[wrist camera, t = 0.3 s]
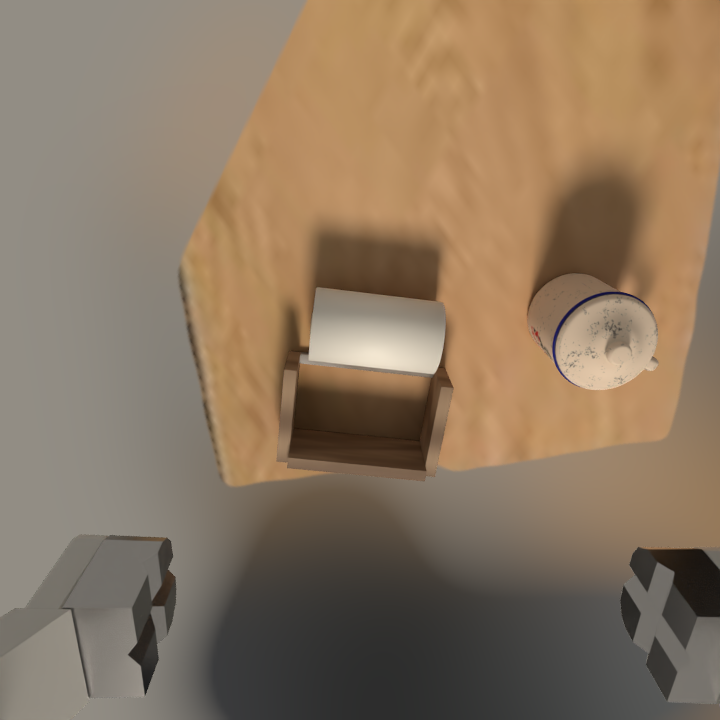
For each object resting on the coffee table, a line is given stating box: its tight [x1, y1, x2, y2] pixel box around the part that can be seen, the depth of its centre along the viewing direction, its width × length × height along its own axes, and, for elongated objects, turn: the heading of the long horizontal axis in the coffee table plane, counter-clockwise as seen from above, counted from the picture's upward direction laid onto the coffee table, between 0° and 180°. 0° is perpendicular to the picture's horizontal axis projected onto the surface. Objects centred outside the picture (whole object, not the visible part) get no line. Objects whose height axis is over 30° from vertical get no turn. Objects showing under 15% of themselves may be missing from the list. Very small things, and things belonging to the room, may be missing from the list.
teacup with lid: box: [528, 273, 658, 390], centre depth 51 cm, size 12×9×12 cm
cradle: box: [276, 351, 453, 481], centre depth 57 cm, size 10×16×6 cm, turn 83°
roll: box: [309, 287, 446, 374], centre depth 53 cm, size 12×7×7 cm, turn 83°
